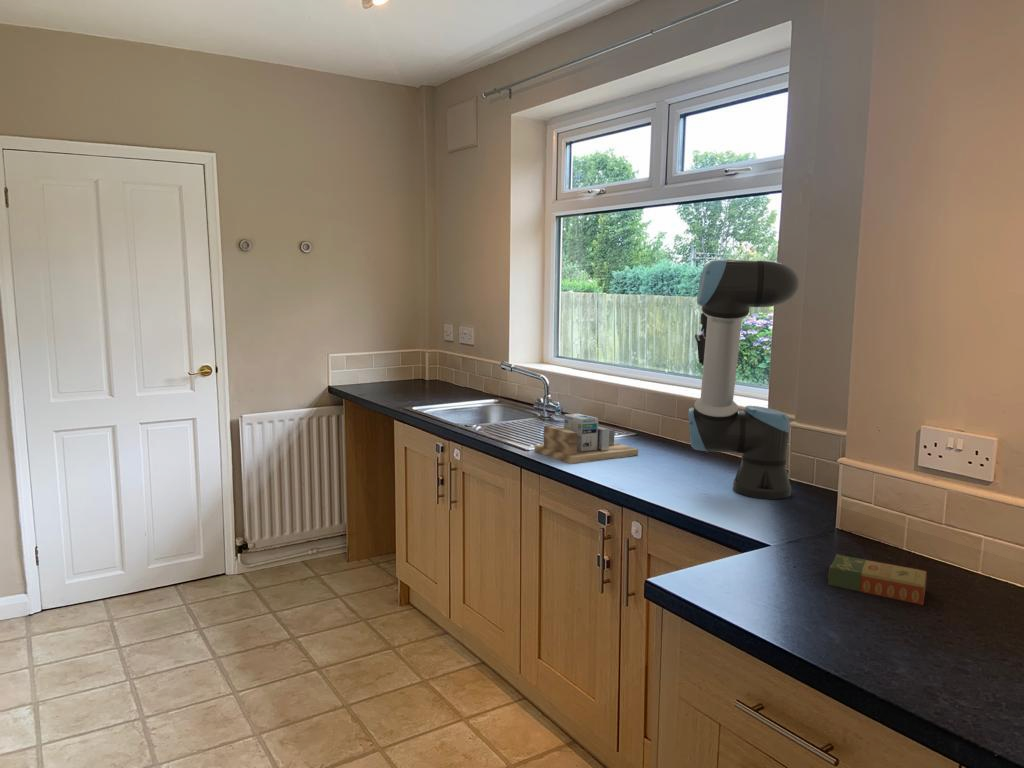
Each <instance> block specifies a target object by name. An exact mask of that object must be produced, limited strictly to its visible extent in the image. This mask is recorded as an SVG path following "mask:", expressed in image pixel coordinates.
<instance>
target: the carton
mask: <svg viewBox="0 0 1024 768" xmlns="http://www.w3.org/2000/svg"><path fill="white" fill-rule="evenodd" d="M827 578H828V579H827V583H828V585H829V586H832V587H836V588H837V587H838V588H842V589H847V590H852V591H855V592H861V593H865V594H871V595H875V596H879V597H885V598H889V599H892V600H893V599H894V600H898V601H903V602H907V603H912V604H916V605H917V604H918V605H921V606H923V605H924V600H925V595H926V589H927V581H928V580H927V578H928V572H927V571H926V570H924V569H923V570H922V569H919V568H913V567H907V566H903V565H902V566H901V565H896V564H891V563H885V562H881V561H880V562H879V561H874V560H869V559H864V558H859V557H853V556H852V557H851V556H847V555H842V554H838V553H836V555H835V556H834V559H833V560H832V563H831V564H830V566H829V570H828V577H827Z"/></svg>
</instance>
